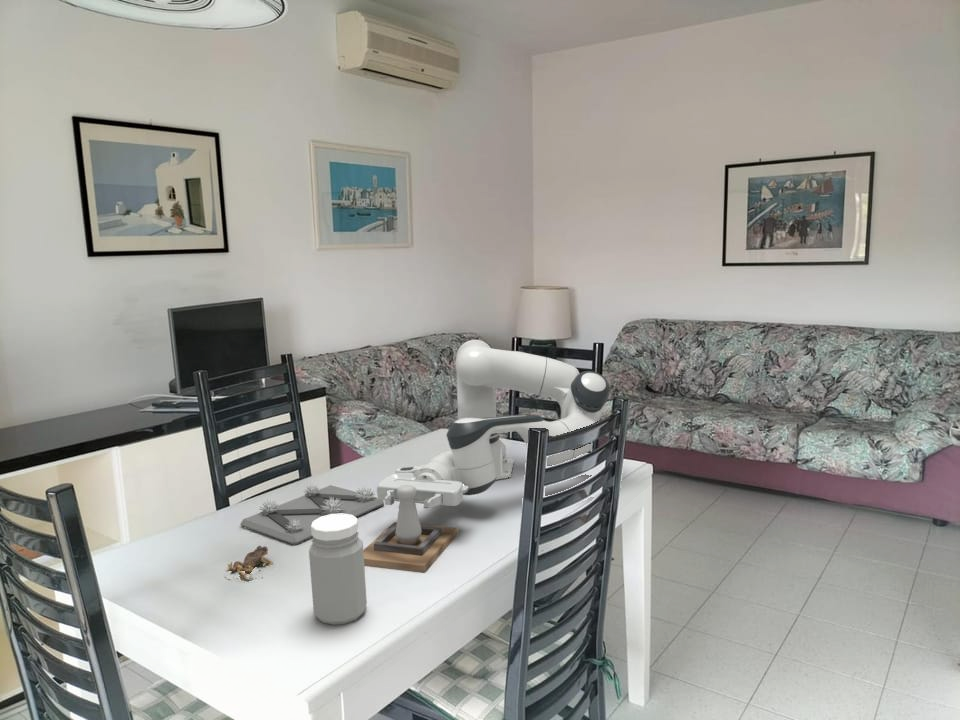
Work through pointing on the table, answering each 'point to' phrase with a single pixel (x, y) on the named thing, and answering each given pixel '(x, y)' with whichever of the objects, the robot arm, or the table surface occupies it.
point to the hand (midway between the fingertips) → (406, 503)
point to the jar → (337, 569)
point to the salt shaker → (407, 516)
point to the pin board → (408, 549)
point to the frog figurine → (250, 563)
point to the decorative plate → (309, 512)
